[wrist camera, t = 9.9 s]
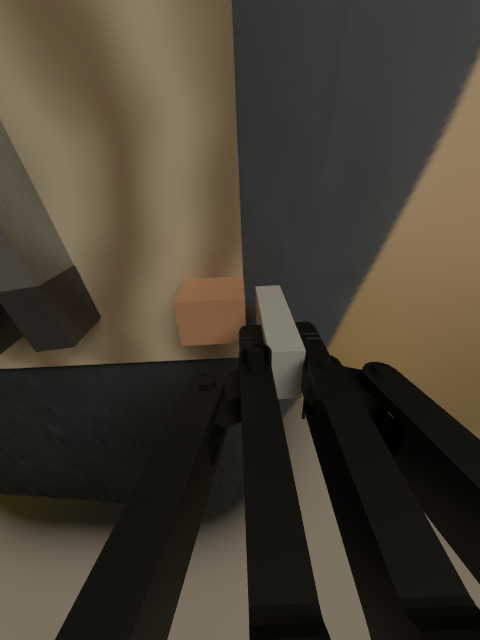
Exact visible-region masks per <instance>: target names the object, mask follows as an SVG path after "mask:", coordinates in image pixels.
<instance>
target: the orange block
mask: <svg viewBox="0 0 480 640" xmlns="http://www.w3.org/2000/svg"><path fill="white" fill-rule="evenodd" d="M173 303H174V308H175V313H176V318H177V323H178V328H179V333H180V338H181V343H182V346H189V345H210V344H230V343H239V330H240V329H241V327H242V326H246V315H245V294H244V283H243V276H239V277H219V278H199V279H184V281H183V283H182V285H181V287H180V289H179V291H178V294H177V296H176V298H175V300H174V302H173Z"/></svg>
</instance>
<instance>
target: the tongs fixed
mask: <svg viewBox="0 0 480 640" xmlns="http://www.w3.org/2000/svg"><path fill="white" fill-rule="evenodd" d="M23 336H24V335H23V334H22V332H21V331H20V330H19V328H18V327H17V325H16V324H15V323H14V321H13V320H12V319H11V317H10V316H9V314H8V313H7V312H6V310H5V309H4V307H3V306H2V305H1V303H0V355H1V354H2V353H3V352H4V351H6V350H7V349H8V348H9V347H11V346H12V345H13V344H14V343H16V342H17V341H18V340H20V339H21V338H22V337H23Z"/></svg>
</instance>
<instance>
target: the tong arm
mask: <svg viewBox="0 0 480 640" xmlns="http://www.w3.org/2000/svg"><path fill="white" fill-rule="evenodd" d="M0 303H1V305H2V306H3V307H4V309H5V310H6V312H7V313H8V314H9V316H10V317H11V319H12V320H13V321H14V323H15V324H16V325H17V327H18V328H19V330H20V331H21V332H22V334H23V335H24V337H25V338H26V339H27V341H28V342H29V343H30V345H31V346H32V348H33V349H34V350H35V352H42V351H49V350H56V349H64V348H71V347H75V346H76V345H77V344H78V343H79V341H80V340H81V339H82V338H83V337H84V336H85V335H86V334H87V333H88V331H89V330H90V329H91V328H92V327H93V326H94V325H95V324H96V323H97V322H98V320H99V319H100V318H101V316H100V314H99V312H98V310H97V308H96V306H95V304H94V302H93V300H92V298H91V296H90V294H89V292H88V290H87V288H86V286H85V284H84V282H83V280H82V278H81V276H80V274H79V272H78V270H77V268H76V266H75V265H74V264H73V262H72V260H71V258H70V256H69V254H68V252H67V250H66V248H65V246H64V244H63V242H62V240H61V238H60V236H59V234H58V232H57V230H56V228H55V226H54V224H53V222H52V220H51V218H50V216H49V214H48V212H47V211H46V209H45V207H44V205H43V203H42V201H41V199H40V197H39V195H38V193H37V191H36V189H35V187H34V185H33V183H32V181H31V179H30V177H29V175H28V173H27V171H26V169H25V167H24V165H23V163H22V161H21V159H20V157H19V155H18V153H17V151H16V149H15V147H14V145H13V143H12V141H11V139H10V138H9V136H8V134H7V132H6V130H5V128H4V126H3V124H2V122H1V120H0Z"/></svg>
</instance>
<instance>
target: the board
mask: <svg viewBox="0 0 480 640" xmlns="http://www.w3.org/2000/svg"><path fill="white" fill-rule="evenodd" d="M0 120H1V122H2V124H3V126H4V128H5V130H6V132H7V134H8V136H9V138H10V139H11V141H12V143H13V145H14V147H15V149H16V151H17V153H18V155H19V157H20V159H21V161H22V163H23V165H24V167H25V169H26V171H27V173H28V175H29V177H30V179H31V181H32V183H33V185H34V187H35V189H36V191H37V193H38V195H39V197H40V199H41V201H42V203H43V205H44V207H45V209H46V211H47V212H48V214H49V216H50V218H51V220H52V222H53V224H54V226H55V228H56V230H57V232H58V234H59V236H60V238H61V240H62V242H63V244H64V246H65V248H66V250H67V252H68V254H69V256H70V258H71V260H72V262H73V264H74V265H75V266H76V268H77V270H78V272H79V274H80V276H81V278H82V280H83V282H84V284H85V286H86V288H87V290H88V292H89V294H90V296H91V298H92V300H93V302H94V304H95V306H96V308H97V310H98V312H99V314H100V316H101V318H100V319H99V320H98V322H97V323H96V324H95V325H94V326H93V327H92V328H91V329H90V330H89V331H88V333H87V334H86V335H85V336H84V337H83V338H82V339H81V340H80V341H79V343H78V344H77V345H76V346H75V347H71V348H64V349H56V350H49V351H42V352H35V350H34V349H33V348H32V346H31V345H30V343H29V342H28V341H27V339H26V338H25V337H24V336H23V337H22V338H21V339H20V340H18V341H17V342H16V343H14V344H13V345H12V346H11V347H9V348H8V349H7V350H6V351H4V352H3V353H2V354H1V355H0V369H10V368H31V367H51V366H72V365H92V364H113V363H134V362H154V361H175V360H195V359H216V358H237V357H239V343H230V344H210V345H189V346H182V343H181V338H180V333H179V328H178V323H177V318H176V313H175V308H174V303H173V302H174V300H175V298H176V296H177V294H178V291H179V289H180V287H181V285H182V283H183V281H184V279H199V278H219V277H239V276H243V265H242V241H241V217H240V192H239V168H238V144H237V120H236V96H235V71H234V47H233V23H232V0H0Z"/></svg>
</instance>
